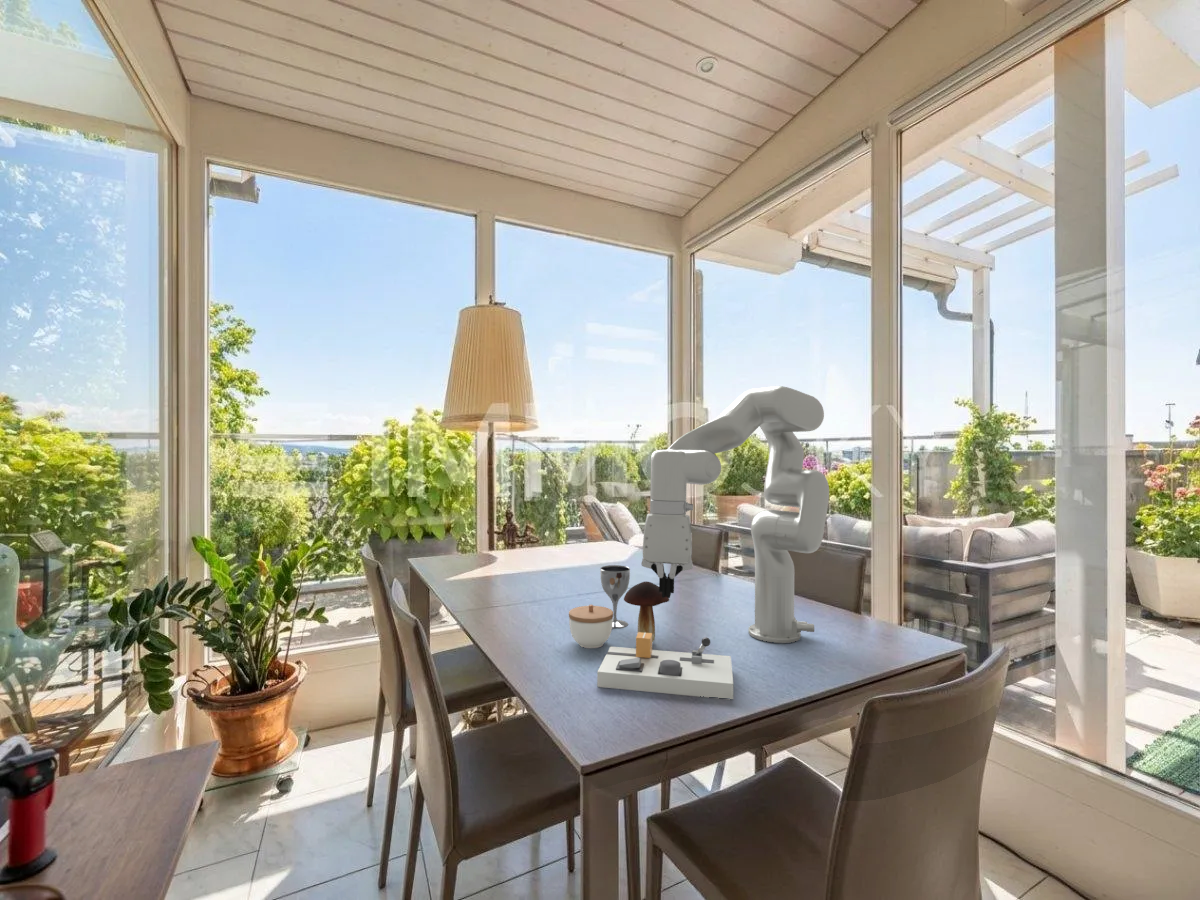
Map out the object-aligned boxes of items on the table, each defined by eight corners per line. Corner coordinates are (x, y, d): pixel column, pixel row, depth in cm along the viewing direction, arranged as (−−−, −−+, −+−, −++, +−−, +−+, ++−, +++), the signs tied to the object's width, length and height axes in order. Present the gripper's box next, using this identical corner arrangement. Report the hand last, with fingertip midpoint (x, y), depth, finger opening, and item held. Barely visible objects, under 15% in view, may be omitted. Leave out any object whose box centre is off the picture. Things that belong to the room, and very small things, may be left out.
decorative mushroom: (638, 655, 123) (638, 589, 123) (615, 640, 133) (615, 579, 133) (678, 647, 128) (678, 584, 128) (652, 633, 138) (653, 574, 138)
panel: (730, 670, 115) (730, 648, 115) (733, 699, 101) (733, 675, 101) (610, 660, 120) (610, 639, 120) (597, 686, 106) (597, 663, 106)
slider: (652, 651, 116) (652, 632, 116) (650, 658, 112) (650, 638, 113) (638, 650, 117) (638, 631, 117) (635, 656, 113) (636, 637, 113)
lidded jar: (560, 641, 132) (560, 603, 132) (596, 633, 138) (596, 596, 138) (584, 655, 123) (584, 614, 123) (622, 646, 129) (622, 606, 129)
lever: (700, 658, 113) (712, 639, 113) (699, 662, 111) (712, 642, 111) (692, 653, 113) (704, 634, 113) (692, 657, 112) (704, 637, 111)
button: (680, 679, 109) (681, 660, 109) (679, 688, 105) (679, 668, 105) (661, 677, 109) (661, 659, 109) (659, 686, 105) (659, 666, 105)
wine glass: (630, 629, 141) (630, 571, 141) (599, 628, 141) (600, 571, 141) (629, 619, 149) (629, 565, 149) (600, 619, 149) (600, 565, 149)
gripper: (704, 508, 116) (703, 594, 115) (635, 505, 119) (633, 589, 118) (703, 511, 108) (702, 603, 108) (630, 508, 111) (628, 598, 111)
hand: (666, 596), depth 113 cm, fingers closed
